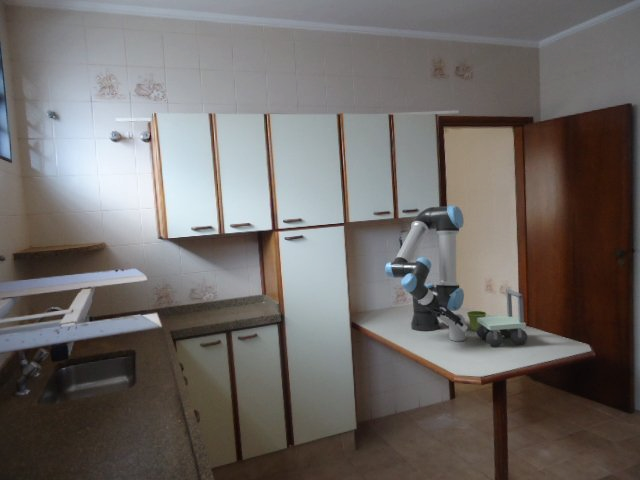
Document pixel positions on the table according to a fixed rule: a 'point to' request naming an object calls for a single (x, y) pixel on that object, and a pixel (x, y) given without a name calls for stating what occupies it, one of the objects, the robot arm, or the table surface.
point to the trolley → (504, 324)
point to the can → (456, 330)
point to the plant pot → (475, 318)
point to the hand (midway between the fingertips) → (457, 326)
